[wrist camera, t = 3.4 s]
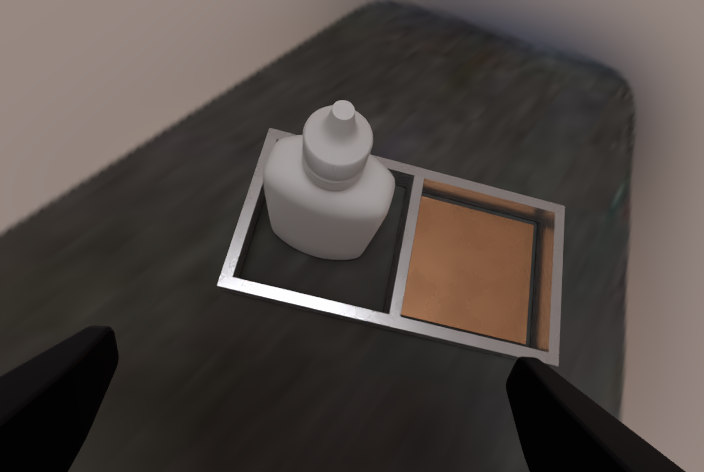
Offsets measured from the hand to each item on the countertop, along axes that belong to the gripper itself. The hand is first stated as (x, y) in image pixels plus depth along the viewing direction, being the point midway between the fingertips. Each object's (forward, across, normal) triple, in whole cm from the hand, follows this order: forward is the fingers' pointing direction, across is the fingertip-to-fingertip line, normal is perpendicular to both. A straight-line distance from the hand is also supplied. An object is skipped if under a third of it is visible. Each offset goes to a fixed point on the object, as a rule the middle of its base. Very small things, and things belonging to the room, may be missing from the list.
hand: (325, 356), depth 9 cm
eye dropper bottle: (+14, 0, +4) cm, 15 cm away
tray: (+14, -5, +5) cm, 15 cm away
